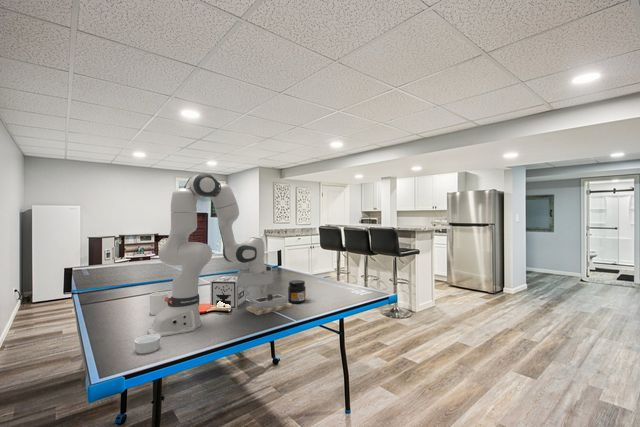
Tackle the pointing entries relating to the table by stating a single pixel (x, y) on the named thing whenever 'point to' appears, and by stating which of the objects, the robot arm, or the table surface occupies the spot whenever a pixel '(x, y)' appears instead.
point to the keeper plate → (269, 297)
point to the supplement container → (296, 292)
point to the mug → (157, 302)
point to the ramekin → (147, 343)
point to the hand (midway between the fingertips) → (255, 294)
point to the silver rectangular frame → (268, 302)
